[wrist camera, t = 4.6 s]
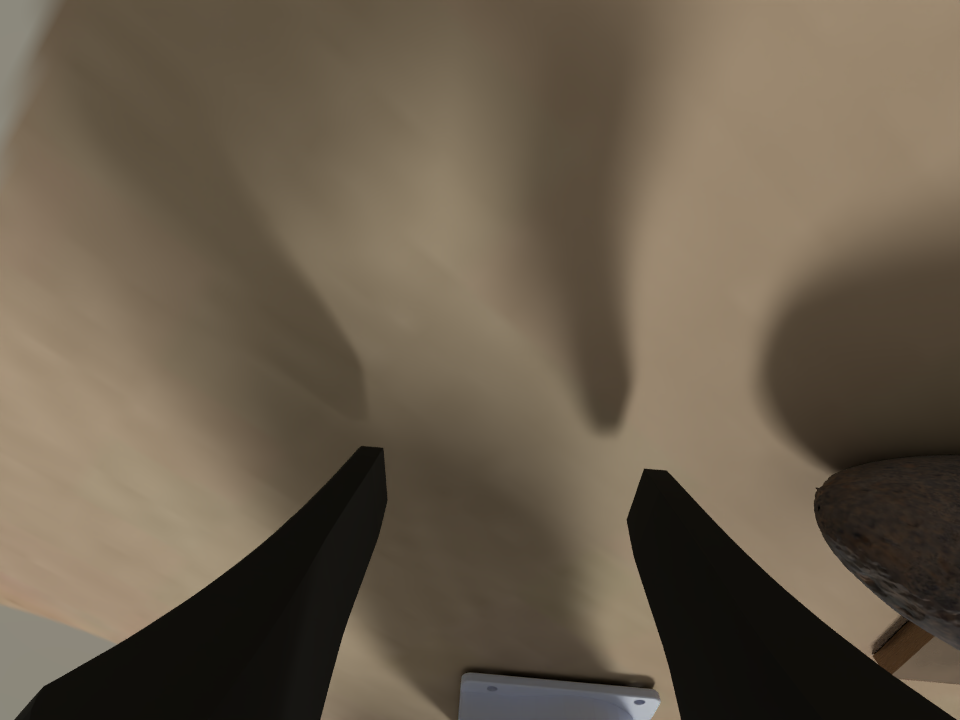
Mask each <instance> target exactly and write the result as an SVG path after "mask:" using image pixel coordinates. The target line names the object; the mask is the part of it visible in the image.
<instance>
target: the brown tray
mask: <svg viewBox="0 0 960 720" xmlns="http://www.w3.org/2000/svg"><path fill="white" fill-rule="evenodd" d="M873 657H874V659H875V660H876V661H877V663H878V664H879V665H880V666H881V667H882V668H884V669H885V670H887V671H888V672H889V673H891V674H892V675H893V676H895V677H896V678H898V679H905V680H916V681H927V682H938V683H949V684H960V651H959V650H957V649H955V648H954V647H952V646H951V645H949V644H947V643H945V642H944V641H942V640H940V639H939V638H937V637H935V636H934V635H932V634H930V633H928V632H927V631H925V630H923V629H922V628H920V627H919V626H917V625H916V624H914V623H913V622H911V621H910V620H909V621H908V622H907V623H906V624H905V625H904V626H903V627H902V628H901V629H900V630H899V631H898V632H897V633H896V634H895V635H894V636H893V637H892V638H891V639H890V640H889V641H888V642H887V643H886V644H885V645H884V646H883V647H882V648H881V649H880V650H879V651H878V652H877V653H875V654H874V655H873Z"/></svg>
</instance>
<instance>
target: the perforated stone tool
mask: <svg viewBox="0 0 960 720" xmlns="http://www.w3.org/2000/svg"><path fill="white" fill-rule="evenodd" d="M816 489H817V492H816V494H815V500H814V512H815V517H816V521H817V524H818V526H819V528H820V531H821V532H822V535H823V537H824V539H825V541H826V542H827V544H828V545H829V547H830V548H831V550H832V551H833V553H834V554H835V555H836V556H837V557H838V558H839V560H840V561H841V562H842V563H843V564H844V566H845V567H846V568H847V569H848V570H849V571H850V572H852V573H853V574H854V575H855V576H856V577H857V578H858V579H859V580H860V581H861V582H862V583H863V584H864V585H865V586H866V587H867V588H869V589H870V590H871V591H872V592H873V593H874V594H875V595H877V596H878V597H879V598H880V599H881V600H883V601H884V602H885V603H886V604H887V605H889V606H890V607H891V608H892V609H894V610H895V611H896V612H897V613H899V614H900V615H902V616H903V617H905V618H906V619H908V620H910V621H911V622H913V623H914V624H916V625H917V626H919V627H920V628H922V629H923V630H925V631H927V632H928V633H930V634H932V635H934V636H935V637H937V638H939V639H940V640H942V641H944V642H945V643H947V644H949V645H951V646H952V647H954V648H955V649H957V650H959V651H960V455H935V456H916V457H904V458H896V459H889V460H883V461H876V462H870V463H866V464H862V465H859V466H855V467H851V468H848V469H845V470H843V471H841V472H838V473H835V474H834V475H832V476H831V477H829V478H828V480H827V481H825V482H824V484H823V486H822V487H820V488H816Z"/></svg>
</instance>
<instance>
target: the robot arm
mask: <svg viewBox="0 0 960 720" xmlns="http://www.w3.org/2000/svg"><path fill="white" fill-rule="evenodd" d="M386 504H387V488H386V475H385V462H384V450H383V448H379V447H366V446H361V447H360V448H359V449H358V450H357V451H356V452H355V453H354V454H353V455H352V456H351V457H350V458H349V460H348V461H347V462H346V463H345V464H344V465H343V466H342V467H341V468H340V469H339V470H338V472H337V473H336V474H335V475H334V476H333V477H332V478H331V479H330V480H329V481H328V482H327V483H326V484H325V485H324V486H323V487H322V488H321V489H320V490H319V491H318V492H317V493H316V494H315V495H314V496H313V497H312V498H311V499H310V500H309V501H308V502H307V503H306V504H305V505H304V506H303V507H302V508H301V509H300V510H299V511H298V512H297V513H296V514H295V515H294V516H292V517H291V518H290V519H289V520H288V521H287V522H286V523H285V524H284V525H283V526H282V527H280V528H279V529H278V530H277V531H276V532H275V533H274V534H273V535H271V536H270V537H269V538H268V539H267V540H266V541H264V542H263V543H262V544H261V545H260V546H258V547H257V548H256V549H255V550H254V551H252V552H251V553H250V554H249V555H247V556H246V557H245V558H244V559H242V560H241V561H240V562H239V563H237V564H236V565H235V566H233V567H232V568H231V569H229V570H228V571H227V572H225V573H224V574H223V575H221V576H220V577H219V578H217V579H216V580H215V581H213V582H212V583H211V584H209V585H208V586H206V587H205V588H204V589H202V590H201V591H199V592H198V593H197V594H195V595H194V596H192V597H191V598H189V599H188V600H186V601H185V602H183V603H182V604H180V605H179V606H177V607H176V608H174V609H173V610H171V611H170V612H168V613H167V614H165V615H164V616H162V617H160V618H159V619H157V620H156V621H154V622H153V623H151V624H150V625H148V626H147V627H145V628H144V629H142V630H140V631H139V632H137V633H136V634H134V635H132V636H131V637H129V638H128V639H126V640H124V641H123V642H121V643H119V644H118V645H116V646H114V647H113V648H111V649H109V650H108V651H106V652H104V653H102V654H100V655H99V656H97V657H95V658H93V659H92V660H90V661H88V662H86V663H85V664H83V665H81V666H79V667H78V668H76V669H74V670H72V671H71V672H69V673H67V674H65V675H64V676H62V677H60V678H58V679H56V680H55V681H53V682H51V683H49V684H47V685H45V686H44V687H43V688H42V689H41V690H40V691H39V692H38V693H37V694H36V696H35V697H34V698H33V699H32V700H31V701H30V702H29V704H28V705H27V706H26V707H25V708H24V709H23V710H22V711H21V713H20V714H19V715H18V716H17V717H16V719H15V720H320V719H321V715H322V711H323V707H324V703H325V699H326V696H327V692H328V688H329V684H330V680H331V677H332V673H333V669H334V666H335V662H336V658H337V655H338V651H339V647H340V644H341V640H342V637H343V634H344V631H345V627H346V624H347V621H348V618H349V616H350V613H351V610H352V607H353V605H354V602H355V599H356V597H357V594H358V591H359V588H360V586H361V583H362V580H363V578H364V575H365V572H366V569H367V567H368V564H369V561H370V559H371V556H372V553H373V550H374V548H375V545H376V542H377V539H378V536H379V533H380V529H381V525H382V521H383V517H384V513H385V508H386ZM627 524H628V530H629V535H630V541H631V545H632V550H633V555H634V559H635V562H636V565H637V568H638V571H639V575H640V578H641V581H642V584H643V587H644V590H645V593H646V596H647V599H648V602H649V605H650V608H651V611H652V614H653V617H654V620H655V623H656V626H657V629H658V632H659V636H660V639H661V642H662V645H663V648H664V651H665V655H666V658H667V662H668V665H669V669H670V673H671V678H672V682H673V686H674V690H675V695H676V699H677V703H678V707H679V712H680V716H681V720H956V719H955V718H953V717H952V716H950V715H949V714H948V713H946V712H945V711H943V710H942V709H940V708H939V707H937V706H936V705H935V704H933V703H932V702H930V701H929V700H927V699H926V698H925V697H923V696H922V695H920V694H919V693H917V692H916V691H914V690H913V689H912V688H910V687H909V686H907V685H906V684H904V683H903V682H902V681H900V680H899V679H898V678H896V677H895V676H893V675H892V674H891V673H889V672H888V671H887V670H885V669H884V668H882V667H881V666H880V665H878V664H877V663H876V662H874V661H873V660H872V659H870V658H869V657H868V656H866V655H865V654H864V653H862V652H861V651H860V650H859V649H857V648H856V647H855V646H853V645H852V644H851V643H849V642H848V641H847V640H846V639H844V638H843V637H842V636H840V635H839V634H838V633H836V632H835V631H834V630H833V629H831V628H830V627H829V626H828V625H826V624H825V623H824V622H823V621H821V620H820V619H819V618H818V617H817V616H815V615H814V614H813V613H812V612H811V611H810V610H808V609H807V608H806V607H805V606H804V605H802V604H801V603H800V602H799V601H798V600H797V599H795V598H794V597H793V596H792V595H791V594H790V593H788V592H787V591H786V590H785V589H784V588H783V587H782V586H780V585H779V584H778V583H777V582H776V581H775V580H774V579H773V578H772V577H770V576H769V575H768V574H767V573H766V572H765V571H764V570H763V569H762V568H761V567H760V566H759V565H758V564H757V563H756V562H755V561H753V560H752V559H751V558H750V557H749V556H748V555H747V554H746V553H745V552H744V551H743V550H742V549H741V548H740V547H739V546H738V545H737V544H736V543H735V542H734V541H733V540H732V539H731V538H730V537H729V536H728V535H727V534H726V533H725V532H724V531H723V530H722V529H721V528H720V527H719V526H718V525H717V524H716V523H715V522H714V520H713V519H712V518H711V517H710V516H709V515H708V514H707V513H706V512H705V511H704V510H703V509H702V508H701V507H700V506H699V505H698V503H697V502H696V501H695V500H694V499H693V498H692V497H691V496H690V495H689V494H688V493H687V492H686V491H685V489H684V488H683V487H682V486H681V485H680V484H679V483H678V482H677V481H676V480H675V479H674V478H673V477H672V476H671V475H670V474H669V473H668V471H666V470H653V469H644V471H643V473H642V476H641V479H640V482H639V485H638V488H637V491H636V494H635V497H634V500H633V503H632V506H631V509H630V511H629V514H628V517H627ZM660 702H661V700H660V697H659V693H658V692H657V691H656V690H654V689H648V688H637V687H626V686H615V685H604V684H593V683H582V682H571V681H560V680H549V679H538V678H527V677H516V676H505V675H494V674H483V673H472V672H470V673H465V674H463V675H462V677H461V689H460V702H459V714H458V720H651V718H652V716H653V715H654V713H655V711H656V710H657V708H658V706H659V704H660Z"/></svg>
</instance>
